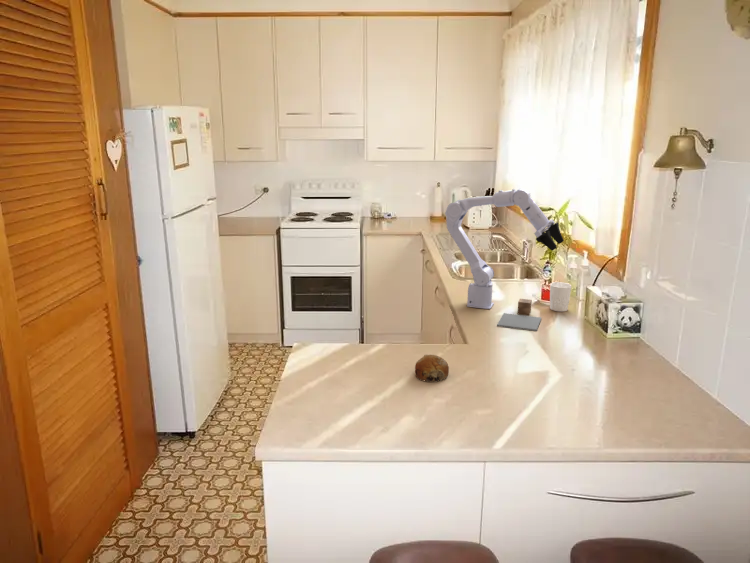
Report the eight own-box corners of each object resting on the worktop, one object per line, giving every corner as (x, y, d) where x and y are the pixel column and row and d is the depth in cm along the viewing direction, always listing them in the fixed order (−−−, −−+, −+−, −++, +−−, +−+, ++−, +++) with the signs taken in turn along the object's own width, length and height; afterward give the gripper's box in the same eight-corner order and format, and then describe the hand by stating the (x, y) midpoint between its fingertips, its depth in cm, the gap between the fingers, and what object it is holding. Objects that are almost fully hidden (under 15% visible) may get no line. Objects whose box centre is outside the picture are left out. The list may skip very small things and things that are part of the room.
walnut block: (517, 314, 219) (518, 301, 217) (519, 310, 223) (519, 298, 221) (529, 315, 217) (530, 303, 216) (530, 312, 221) (531, 299, 220)
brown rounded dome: (450, 385, 167) (454, 358, 168) (441, 384, 158) (445, 356, 159) (419, 379, 171) (423, 353, 172) (407, 378, 162) (412, 350, 163)
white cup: (566, 306, 228) (568, 282, 225) (571, 312, 220) (573, 287, 217) (546, 305, 228) (548, 281, 226) (550, 311, 221) (552, 287, 218)
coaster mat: (496, 326, 205) (497, 324, 205) (503, 314, 218) (503, 313, 218) (536, 331, 200) (536, 329, 200) (541, 319, 213) (541, 317, 213)
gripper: (537, 216, 203) (559, 247, 203) (551, 205, 214) (573, 234, 213) (522, 226, 208) (544, 256, 208) (537, 215, 219) (558, 243, 218)
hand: (558, 245), depth 211 cm, fingers open, 7 cm apart
